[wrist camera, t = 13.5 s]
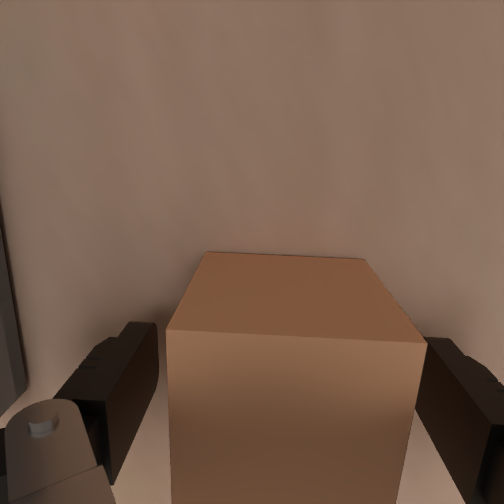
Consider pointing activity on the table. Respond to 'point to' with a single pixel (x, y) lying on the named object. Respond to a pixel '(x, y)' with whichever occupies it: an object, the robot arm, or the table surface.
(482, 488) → the robot arm
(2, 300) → the tote
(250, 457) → the cube
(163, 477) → the table surface
